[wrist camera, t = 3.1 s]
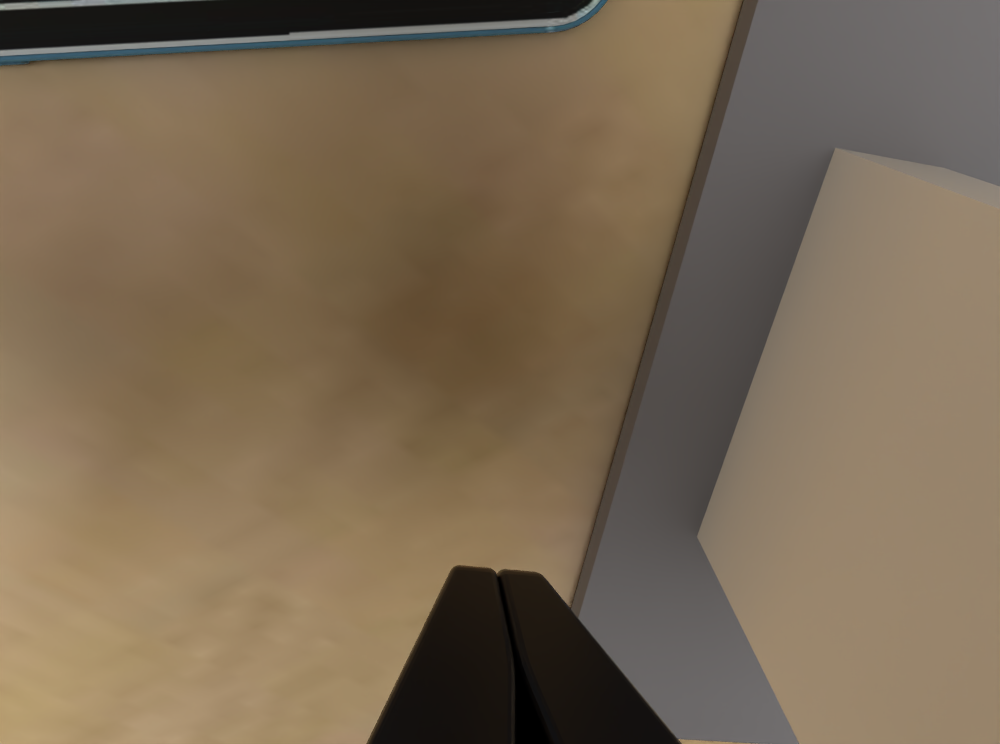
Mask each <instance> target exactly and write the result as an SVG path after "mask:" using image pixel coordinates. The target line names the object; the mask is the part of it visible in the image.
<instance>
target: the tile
mask: <svg viewBox="0 0 1000 744" xmlns="http://www.w3.org/2000/svg"><path fill="white" fill-rule="evenodd" d="M697 538H698V540H699V542H700V544H701V546H702V548H703V550H704V552H705V554H706V556H707V558H708V560H709V562H710V564H711V566H712V568H713V570H714V572H715V574H716V576H717V578H718V580H719V582H720V584H721V586H722V588H723V590H724V592H725V594H726V596H727V599H728V601H729V603H730V605H731V607H732V609H733V611H734V613H735V615H736V617H737V619H738V621H739V623H740V625H741V627H742V629H743V631H744V633H745V635H746V637H747V639H748V641H749V643H750V645H751V647H752V649H753V651H754V653H755V655H756V657H757V659H758V661H759V663H760V665H761V667H762V669H763V671H764V673H765V675H766V677H767V679H768V681H769V683H770V685H771V688H772V690H773V692H774V694H775V696H776V698H777V700H778V702H779V704H780V706H781V708H782V710H783V712H784V714H785V716H786V718H787V720H788V722H789V724H790V726H791V728H792V730H793V732H794V734H795V736H796V738H797V740H798V742H799V744H1000V186H997V185H994V184H991V183H988V182H985V181H982V180H979V179H976V178H973V177H970V176H967V175H964V174H961V173H958V172H955V171H952V170H949V169H946V168H942V167H937V166H931V165H926V164H920V163H915V162H910V161H904V160H899V159H893V158H888V157H882V156H877V155H872V154H866V153H861V152H855V151H850V150H844V149H839V148H835V150H834V153H833V156H832V158H831V161H830V164H829V167H828V170H827V173H826V175H825V178H824V181H823V184H822V187H821V189H820V192H819V195H818V198H817V201H816V203H815V206H814V209H813V212H812V215H811V218H810V220H809V223H808V226H807V229H806V232H805V234H804V237H803V240H802V243H801V246H800V248H799V251H798V254H797V257H796V260H795V263H794V265H793V268H792V271H791V274H790V277H789V279H788V282H787V285H786V288H785V291H784V293H783V296H782V299H781V302H780V305H779V307H778V310H777V313H776V316H775V319H774V322H773V324H772V327H771V330H770V333H769V336H768V338H767V341H766V344H765V347H764V350H763V352H762V355H761V358H760V361H759V364H758V367H757V369H756V372H755V375H754V378H753V381H752V383H751V386H750V389H749V392H748V395H747V397H746V400H745V403H744V406H743V409H742V412H741V414H740V417H739V420H738V423H737V426H736V428H735V431H734V434H733V437H732V440H731V442H730V445H729V448H728V451H727V454H726V457H725V459H724V462H723V465H722V468H721V471H720V473H719V476H718V479H717V482H716V485H715V487H714V490H713V493H712V496H711V499H710V502H709V504H708V507H707V510H706V513H705V516H704V518H703V521H702V524H701V527H700V530H699V532H698V535H697Z"/></svg>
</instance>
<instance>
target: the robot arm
mask: <svg viewBox="0 0 1000 744" xmlns="http://www.w3.org/2000/svg"><path fill="white" fill-rule="evenodd" d="M367 744H681V742H680V741H679V740H678V739H677V737H676V736H675V735H674V734H673V733H672V731H671V730H670V729H669V728H668V727H667V725H666V724H665V723H664V722H663V720H662V719H661V718H660V717H659V716H658V714H657V713H656V712H655V711H654V710H653V708H652V707H651V706H650V705H649V704H648V702H647V701H646V700H645V699H644V697H643V696H642V695H641V694H640V693H639V691H638V690H637V689H636V688H635V687H634V685H633V684H632V683H631V682H630V680H629V679H628V678H627V677H626V676H625V674H624V673H623V672H622V671H621V670H620V668H619V667H618V666H617V665H616V663H615V662H614V661H613V660H612V659H611V657H610V656H609V655H608V654H607V653H606V651H605V650H604V649H603V648H602V647H601V645H600V644H599V643H598V642H597V640H596V639H595V638H594V637H593V636H592V634H591V633H590V632H589V631H588V630H587V628H586V627H585V626H584V625H583V623H582V622H581V621H580V620H579V619H578V617H577V616H576V615H575V614H574V613H573V611H572V610H571V609H570V608H569V607H568V605H567V604H566V603H565V602H564V600H563V599H562V598H561V597H560V596H559V594H558V593H557V592H556V591H555V590H554V588H553V587H552V586H551V585H550V583H549V582H548V581H547V580H546V579H545V578H544V577H543V576H542V575H541V574H539V573H537V572H531V571H520V570H508V569H503V570H501V571H499V572H498V573H497V574H496V572H495V571H494V570H492V569H491V568H485V567H473V566H461V565H458V566H455V567H453V568H452V569H451V571H450V573H449V575H448V577H447V579H446V581H445V583H444V585H443V587H442V589H441V591H440V593H439V595H438V597H437V600H436V602H435V604H434V606H433V608H432V610H431V612H430V614H429V616H428V618H427V620H426V622H425V624H424V626H423V628H422V630H421V633H420V635H419V637H418V639H417V641H416V643H415V645H414V647H413V649H412V651H411V653H410V655H409V657H408V659H407V661H406V663H405V665H404V668H403V670H402V672H401V674H400V676H399V678H398V680H397V682H396V684H395V686H394V688H393V690H392V692H391V694H390V696H389V698H388V701H387V703H386V705H385V707H384V709H383V711H382V713H381V715H380V717H379V719H378V721H377V723H376V725H375V727H374V729H373V731H372V733H371V736H370V738H369V740H368V742H367Z"/></svg>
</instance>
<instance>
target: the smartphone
mask: <svg viewBox="0 0 1000 744" xmlns="http://www.w3.org/2000/svg"><path fill="white" fill-rule="evenodd" d="M606 2H607V0H0V66H1V65H19V64H29V63H30V61H37V60H56V59H74V58H92V57H110V56H129V55H147V54H165V53H183V52H202V51H220V50H238V49H257V48H275V47H293V46H311V45H330V44H348V43H366V42H384V41H403V40H421V39H439V38H457V37H476V36H494V35H512V34H530V33H549V32H558V31H565V30H568V29H571V28H574V27H577V26H579V25H580V24H582V23H584V22H586V21H587V20H589V19H590V18H591V17H592V16H594V15H595V14H596V13H597V12H598V11H599V10H600V9H601V8H602V7H603V5H604V4H605V3H606Z"/></svg>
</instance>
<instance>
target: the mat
mask: <svg viewBox="0 0 1000 744" xmlns="http://www.w3.org/2000/svg"><path fill="white" fill-rule="evenodd" d="M835 148H839V149H844V150H850V151H855V152H861V153H866V154H872V155H877V156H882V157H888V158H893V159H899V160H904V161H910V162H915V163H920V164H926V165H931V166H937V167H942V168H946V169H949V170H952V171H955V172H958V173H961V174H964V175H967V176H970V177H973V178H976V179H979V180H982V181H985V182H988V183H991V184H994V185H997V186H1000V0H744V1H743V5H742V8H741V12H740V15H739V19H738V22H737V26H736V29H735V33H734V36H733V40H732V43H731V47H730V50H729V54H728V57H727V61H726V64H725V68H724V71H723V75H722V79H721V82H720V86H719V89H718V93H717V96H716V100H715V103H714V107H713V110H712V114H711V117H710V121H709V124H708V128H707V131H706V135H705V138H704V142H703V145H702V149H701V153H700V156H699V160H698V163H697V167H696V170H695V174H694V177H693V181H692V184H691V188H690V191H689V195H688V198H687V202H686V205H685V209H684V212H683V216H682V219H681V223H680V226H679V230H678V234H677V237H676V241H675V244H674V248H673V251H672V255H671V258H670V262H669V265H668V269H667V272H666V276H665V279H664V283H663V286H662V290H661V293H660V297H659V300H658V304H657V308H656V311H655V315H654V318H653V322H652V325H651V329H650V332H649V336H648V339H647V343H646V346H645V350H644V353H643V357H642V360H641V364H640V367H639V371H638V374H637V378H636V381H635V385H634V389H633V392H632V396H631V399H630V403H629V406H628V410H627V413H626V417H625V420H624V424H623V427H622V431H621V434H620V438H619V441H618V445H617V448H616V452H615V455H614V459H613V463H612V466H611V470H610V473H609V477H608V480H607V484H606V487H605V491H604V494H603V498H602V501H601V505H600V508H599V512H598V515H597V519H596V522H595V526H594V529H593V533H592V537H591V540H590V544H589V547H588V551H587V554H586V558H585V561H584V565H583V568H582V572H581V575H580V579H579V582H578V586H577V589H576V593H575V596H574V600H573V603H572V607H571V610H572V611H573V613H574V614H575V615H576V616H577V617H578V619H579V620H580V621H581V622H582V623H583V625H584V626H585V627H586V628H587V630H588V631H589V632H590V633H591V634H592V636H593V637H594V638H595V639H596V640H597V642H598V643H599V644H600V645H601V647H602V648H603V649H604V650H605V651H606V653H607V654H608V655H609V656H610V657H611V659H612V660H613V661H614V662H615V663H616V665H617V666H618V667H619V668H620V670H621V671H622V672H623V673H624V674H625V676H626V677H627V678H628V679H629V680H630V682H631V683H632V684H633V685H634V687H635V688H636V689H637V690H638V691H639V693H640V694H641V695H642V696H643V697H644V699H645V700H646V701H647V702H648V704H649V705H650V706H651V707H652V708H653V710H654V711H655V712H656V713H657V714H658V716H659V717H660V718H661V719H662V720H663V722H664V723H665V724H666V725H667V727H668V728H669V729H670V730H671V731H672V733H673V734H674V735H675V736H676V737H677V739H686V740H704V741H722V742H740V743H758V744H799V742H798V740H797V738H796V736H795V734H794V732H793V730H792V728H791V726H790V724H789V722H788V720H787V718H786V716H785V714H784V712H783V710H782V708H781V706H780V704H779V702H778V700H777V698H776V696H775V694H774V692H773V690H772V688H771V685H770V683H769V681H768V679H767V677H766V675H765V673H764V671H763V669H762V667H761V665H760V663H759V661H758V659H757V657H756V655H755V653H754V651H753V649H752V647H751V645H750V643H749V641H748V639H747V637H746V635H745V633H744V631H743V629H742V627H741V625H740V623H739V621H738V619H737V617H736V615H735V613H734V611H733V609H732V607H731V605H730V603H729V601H728V599H727V596H726V594H725V592H724V590H723V588H722V586H721V584H720V582H719V580H718V578H717V576H716V574H715V572H714V570H713V568H712V566H711V564H710V562H709V560H708V558H707V556H706V554H705V552H704V550H703V548H702V546H701V544H700V542H699V540H698V538H697V535H698V532H699V530H700V527H701V524H702V521H703V518H704V516H705V513H706V510H707V507H708V504H709V502H710V499H711V496H712V493H713V490H714V487H715V485H716V482H717V479H718V476H719V473H720V471H721V468H722V465H723V462H724V459H725V457H726V454H727V451H728V448H729V445H730V442H731V440H732V437H733V434H734V431H735V428H736V426H737V423H738V420H739V417H740V414H741V412H742V409H743V406H744V403H745V400H746V397H747V395H748V392H749V389H750V386H751V383H752V381H753V378H754V375H755V372H756V369H757V367H758V364H759V361H760V358H761V355H762V352H763V350H764V347H765V344H766V341H767V338H768V336H769V333H770V330H771V327H772V324H773V322H774V319H775V316H776V313H777V310H778V307H779V305H780V302H781V299H782V296H783V293H784V291H785V288H786V285H787V282H788V279H789V277H790V274H791V271H792V268H793V265H794V263H795V260H796V257H797V254H798V251H799V248H800V246H801V243H802V240H803V237H804V234H805V232H806V229H807V226H808V223H809V220H810V218H811V215H812V212H813V209H814V206H815V203H816V201H817V198H818V195H819V192H820V189H821V187H822V184H823V181H824V178H825V175H826V173H827V170H828V167H829V164H830V161H831V158H832V156H833V153H834V150H835Z"/></svg>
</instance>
